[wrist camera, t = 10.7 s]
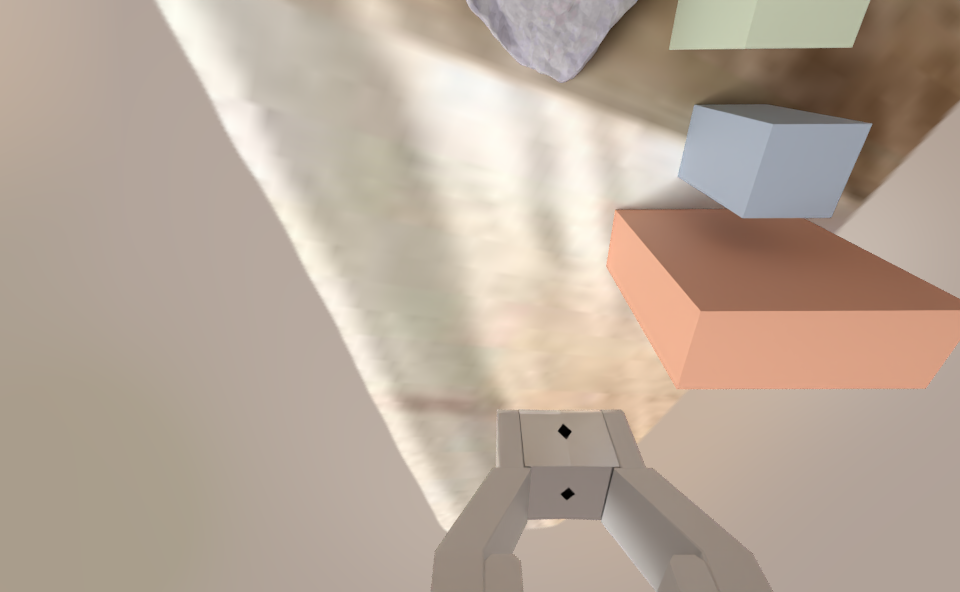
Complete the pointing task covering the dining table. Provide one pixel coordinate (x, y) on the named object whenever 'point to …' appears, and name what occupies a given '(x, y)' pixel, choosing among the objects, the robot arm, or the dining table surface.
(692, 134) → the slate-blue block
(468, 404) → the dining table surface
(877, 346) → the terracotta block
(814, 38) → the sage-green block
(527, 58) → the stone block
